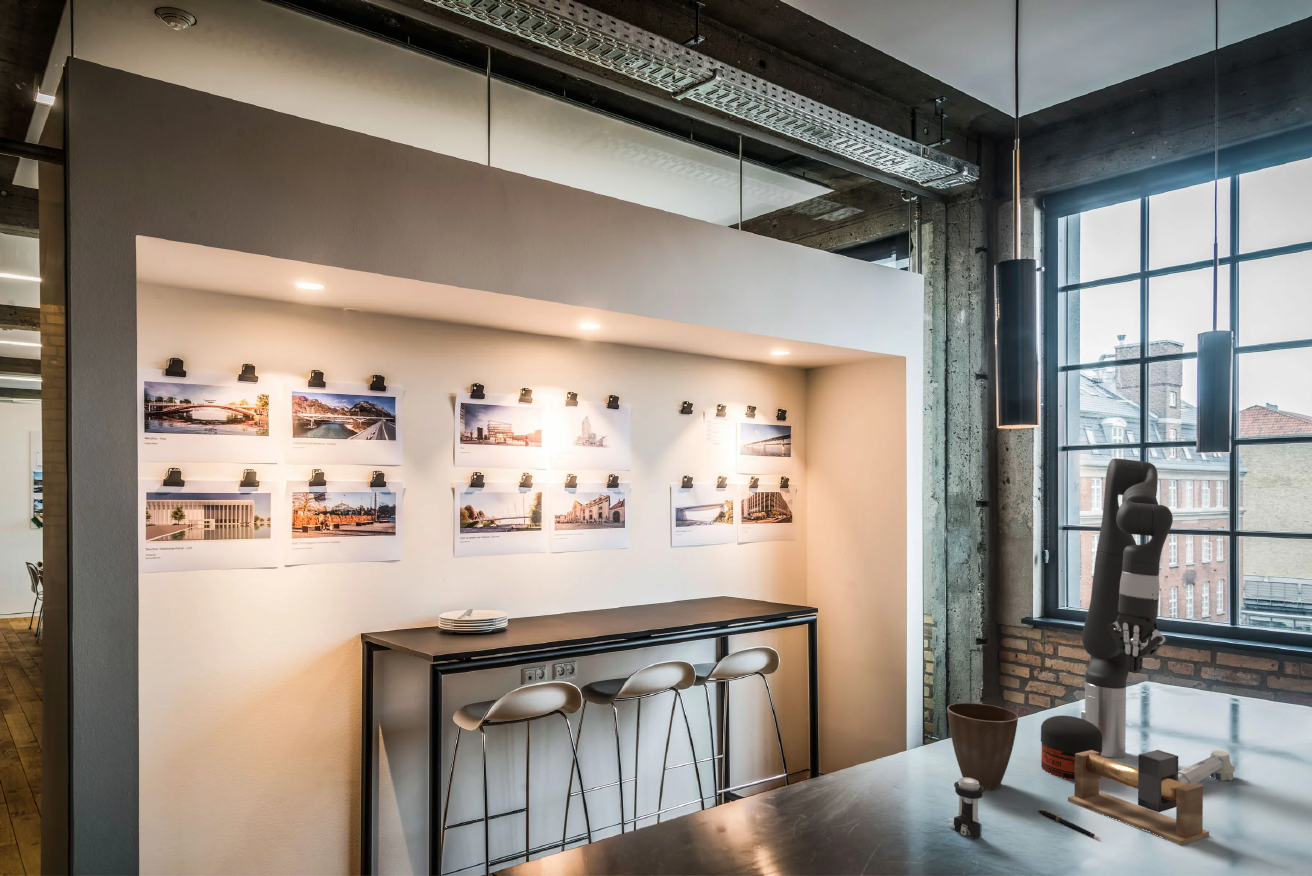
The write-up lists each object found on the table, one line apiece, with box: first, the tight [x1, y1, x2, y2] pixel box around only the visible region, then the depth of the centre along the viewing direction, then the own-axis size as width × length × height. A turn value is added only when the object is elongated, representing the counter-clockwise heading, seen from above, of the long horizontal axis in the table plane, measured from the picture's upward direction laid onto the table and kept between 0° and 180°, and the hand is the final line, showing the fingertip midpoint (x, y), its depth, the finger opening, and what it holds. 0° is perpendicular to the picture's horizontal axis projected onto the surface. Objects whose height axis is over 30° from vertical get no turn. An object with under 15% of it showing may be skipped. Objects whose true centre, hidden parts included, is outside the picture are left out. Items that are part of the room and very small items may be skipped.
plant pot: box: [946, 702, 1019, 790], centre depth 183 cm, size 15×15×16 cm
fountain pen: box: [1037, 808, 1101, 839], centre depth 161 cm, size 14×1×2 cm, turn 25°
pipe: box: [1086, 754, 1187, 802], centre depth 167 cm, size 19×4×4 cm, turn 30°
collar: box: [1137, 749, 1179, 813], centre depth 163 cm, size 4×7×10 cm, turn 120°
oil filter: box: [1040, 715, 1102, 782], centre depth 193 cm, size 13×12×13 cm
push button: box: [948, 777, 985, 840], centre depth 157 cm, size 7×5×10 cm
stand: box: [1067, 750, 1210, 846], centre depth 167 cm, size 23×10×10 cm, turn 30°
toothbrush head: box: [1178, 749, 1236, 784], centre depth 188 cm, size 5×7×25 cm
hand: (1133, 672), depth 179 cm, fingers closed
